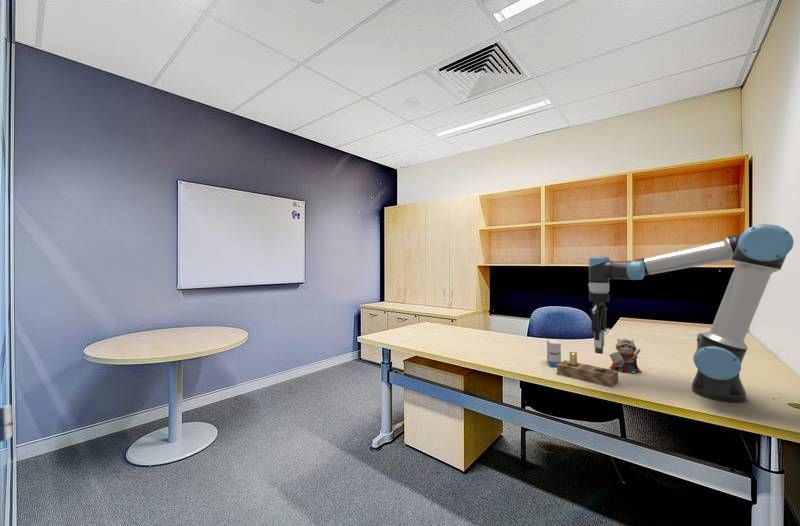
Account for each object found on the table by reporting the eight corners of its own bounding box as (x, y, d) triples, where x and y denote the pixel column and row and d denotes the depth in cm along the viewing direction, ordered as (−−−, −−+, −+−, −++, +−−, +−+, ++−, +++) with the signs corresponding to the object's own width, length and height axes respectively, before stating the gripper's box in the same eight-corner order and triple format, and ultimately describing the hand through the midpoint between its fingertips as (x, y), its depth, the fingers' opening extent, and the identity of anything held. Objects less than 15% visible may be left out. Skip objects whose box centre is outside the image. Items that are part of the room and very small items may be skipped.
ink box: (561, 367, 162) (561, 343, 162) (550, 367, 163) (550, 343, 163) (557, 362, 170) (556, 339, 170) (546, 361, 171) (546, 339, 171)
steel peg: (604, 352, 144) (604, 329, 144) (601, 354, 142) (601, 330, 142) (596, 351, 146) (596, 328, 146) (593, 352, 144) (593, 329, 144)
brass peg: (578, 374, 152) (578, 352, 152) (575, 376, 150) (575, 354, 150) (571, 373, 154) (571, 351, 154) (568, 374, 152) (568, 352, 152)
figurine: (606, 371, 156) (606, 339, 156) (611, 365, 164) (611, 334, 164) (640, 377, 147) (640, 343, 147) (644, 370, 155) (643, 338, 155)
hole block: (618, 381, 143) (618, 371, 142) (611, 387, 137) (611, 376, 137) (565, 369, 159) (565, 360, 159) (557, 374, 153) (556, 364, 153)
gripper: (595, 290, 151) (596, 341, 152) (582, 293, 141) (582, 348, 141) (614, 291, 146) (614, 344, 146) (602, 294, 135) (602, 351, 136)
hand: (599, 346), depth 144 cm, fingers closed on steel peg, 2 cm apart
